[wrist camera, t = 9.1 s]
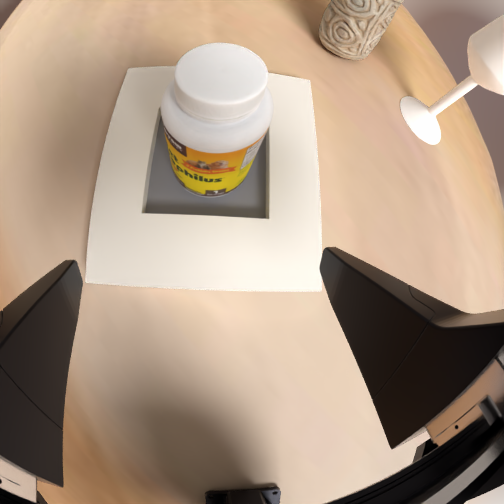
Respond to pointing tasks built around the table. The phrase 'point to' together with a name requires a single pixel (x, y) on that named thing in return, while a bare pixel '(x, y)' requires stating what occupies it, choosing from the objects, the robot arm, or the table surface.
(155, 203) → the socket plate
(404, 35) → the table surface
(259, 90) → the supplement bottle
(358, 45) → the carving
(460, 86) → the champagne flute
